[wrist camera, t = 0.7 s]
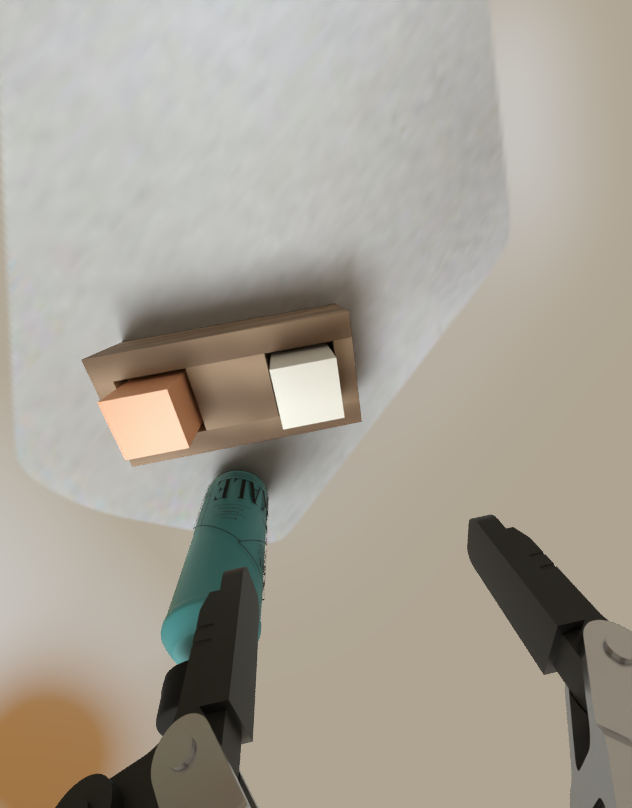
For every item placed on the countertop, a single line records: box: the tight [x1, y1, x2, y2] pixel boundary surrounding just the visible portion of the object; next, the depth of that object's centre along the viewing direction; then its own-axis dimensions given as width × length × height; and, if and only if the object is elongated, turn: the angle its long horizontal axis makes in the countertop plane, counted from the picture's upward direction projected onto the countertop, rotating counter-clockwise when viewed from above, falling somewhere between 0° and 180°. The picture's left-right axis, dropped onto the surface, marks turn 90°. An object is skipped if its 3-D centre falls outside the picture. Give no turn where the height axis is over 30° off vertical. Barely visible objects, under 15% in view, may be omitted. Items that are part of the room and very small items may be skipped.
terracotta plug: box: [97, 368, 203, 460], centre depth 23 cm, size 4×4×5 cm
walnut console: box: [82, 304, 362, 467], centre depth 26 cm, size 9×19×6 cm, turn 99°
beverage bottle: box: [156, 471, 269, 736], centre depth 25 cm, size 6×7×20 cm
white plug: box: [269, 342, 345, 430], centre depth 23 cm, size 4×4×5 cm
